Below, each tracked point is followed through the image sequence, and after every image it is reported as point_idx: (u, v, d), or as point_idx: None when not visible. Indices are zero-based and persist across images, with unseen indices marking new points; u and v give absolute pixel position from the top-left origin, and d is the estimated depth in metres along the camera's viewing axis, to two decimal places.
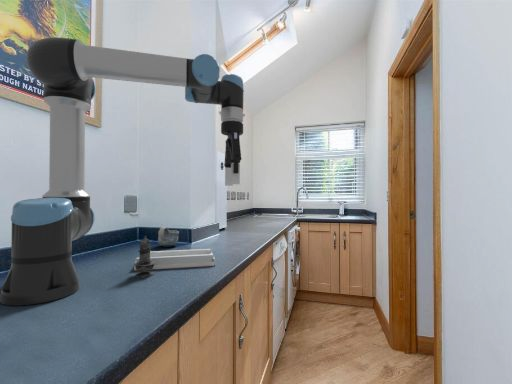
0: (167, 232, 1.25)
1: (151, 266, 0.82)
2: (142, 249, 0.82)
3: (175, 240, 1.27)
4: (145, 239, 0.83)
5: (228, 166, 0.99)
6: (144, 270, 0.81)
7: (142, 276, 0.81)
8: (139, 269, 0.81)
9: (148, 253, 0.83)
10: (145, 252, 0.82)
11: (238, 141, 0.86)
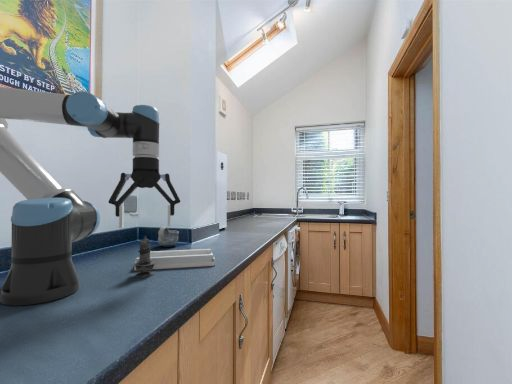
0: (167, 232, 1.25)
1: (151, 266, 0.82)
2: (142, 249, 0.82)
3: (175, 240, 1.27)
4: (145, 239, 0.83)
5: (170, 203, 0.85)
6: (144, 270, 0.81)
7: (142, 276, 0.81)
8: (139, 269, 0.81)
9: (148, 253, 0.83)
10: (145, 252, 0.82)
11: None
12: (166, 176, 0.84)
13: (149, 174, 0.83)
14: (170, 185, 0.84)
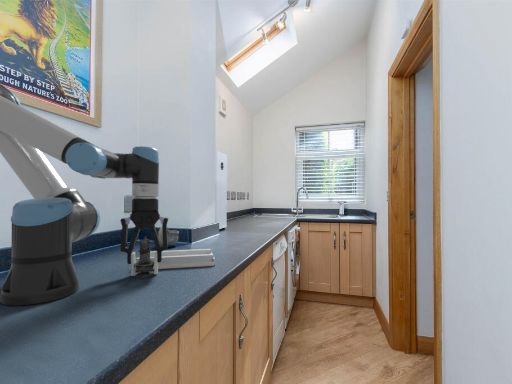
0: (167, 232, 1.25)
1: (151, 266, 0.82)
2: (142, 249, 0.82)
3: (175, 240, 1.27)
4: (145, 239, 0.83)
5: None
6: (144, 270, 0.81)
7: (142, 276, 0.81)
8: (139, 269, 0.81)
9: (148, 253, 0.83)
10: (145, 252, 0.82)
11: (122, 229, 0.81)
12: (164, 220, 0.84)
13: (150, 212, 0.83)
14: (164, 230, 0.83)
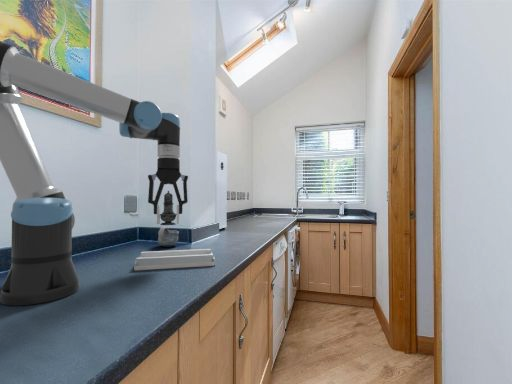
0: (167, 232, 1.25)
1: (174, 216, 0.95)
2: (166, 201, 0.95)
3: (175, 240, 1.27)
4: (168, 193, 0.96)
5: (179, 203, 0.97)
6: (168, 219, 0.94)
7: (166, 224, 0.94)
8: (164, 218, 0.94)
9: (171, 205, 0.96)
10: (169, 204, 0.95)
11: (149, 184, 0.94)
12: (185, 177, 0.97)
13: (172, 170, 0.96)
14: (185, 186, 0.97)
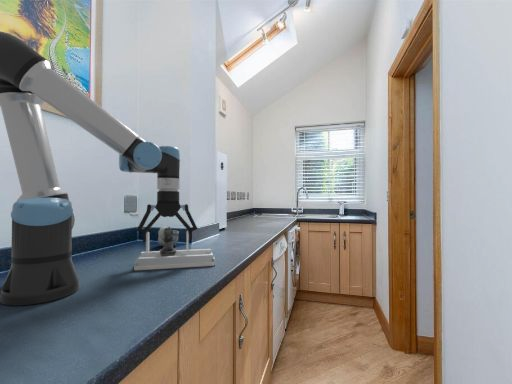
0: None
1: (173, 253, 0.95)
2: (166, 238, 0.95)
3: (175, 240, 1.27)
4: (169, 229, 0.96)
5: None
6: None
7: None
8: (163, 255, 0.94)
9: (171, 241, 0.96)
10: (169, 240, 0.95)
11: (145, 213, 0.94)
12: (185, 206, 0.97)
13: (171, 205, 0.96)
14: (189, 214, 0.97)
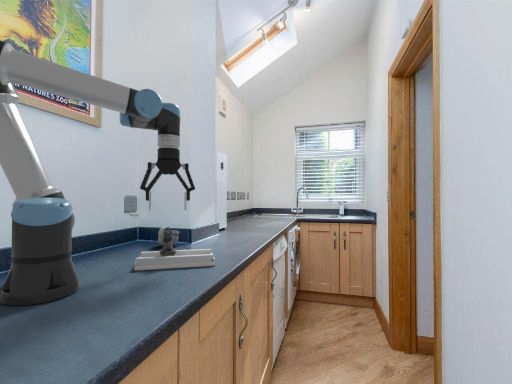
0: None
1: (173, 253, 0.95)
2: (165, 238, 0.95)
3: (175, 240, 1.27)
4: (168, 229, 0.96)
5: (186, 190, 0.98)
6: None
7: None
8: (163, 255, 0.94)
9: (171, 241, 0.96)
10: (168, 240, 0.95)
11: None
12: (186, 165, 0.97)
13: (172, 162, 0.96)
14: (188, 174, 0.97)
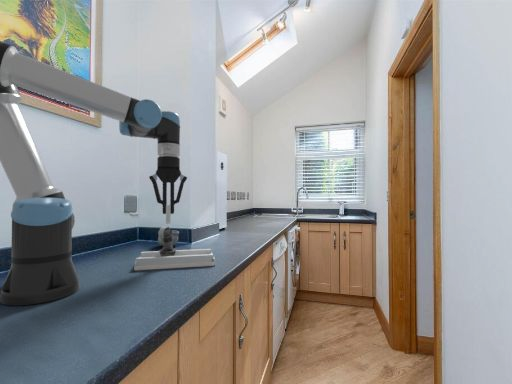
0: None
1: (173, 253, 0.95)
2: (165, 238, 0.95)
3: (175, 240, 1.27)
4: (168, 229, 0.96)
5: None
6: None
7: None
8: (163, 255, 0.94)
9: (171, 241, 0.96)
10: (168, 240, 0.95)
11: (153, 184, 0.94)
12: (184, 178, 0.97)
13: (174, 168, 0.96)
14: (181, 186, 0.96)
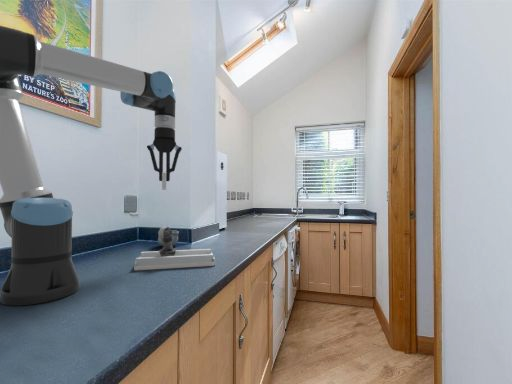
0: None
1: (173, 253, 0.95)
2: (165, 238, 0.95)
3: (175, 240, 1.27)
4: (168, 229, 0.96)
5: None
6: None
7: None
8: (163, 255, 0.94)
9: (170, 242, 0.96)
10: (168, 240, 0.95)
11: (150, 153, 1.03)
12: (179, 148, 1.05)
13: (169, 139, 1.04)
14: (176, 156, 1.05)
